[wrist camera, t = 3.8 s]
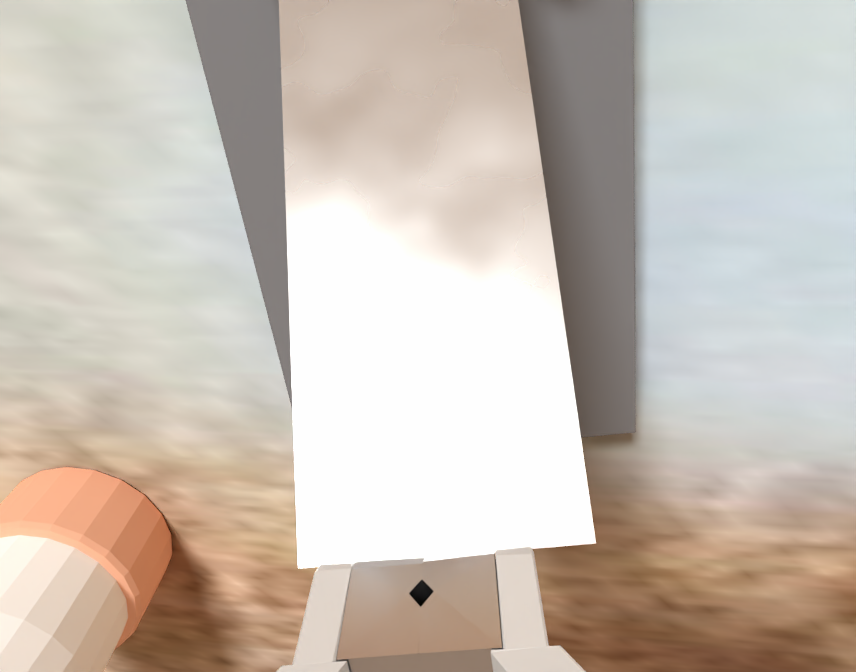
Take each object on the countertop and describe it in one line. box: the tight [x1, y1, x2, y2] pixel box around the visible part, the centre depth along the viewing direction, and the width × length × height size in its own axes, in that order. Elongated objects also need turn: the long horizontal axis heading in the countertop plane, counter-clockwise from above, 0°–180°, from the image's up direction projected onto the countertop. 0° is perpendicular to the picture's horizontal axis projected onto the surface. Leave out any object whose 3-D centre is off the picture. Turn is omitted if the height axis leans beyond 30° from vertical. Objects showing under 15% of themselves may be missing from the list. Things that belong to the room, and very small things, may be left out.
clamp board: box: [186, 0, 635, 437], centre depth 20 cm, size 12×20×5 cm, turn 8°
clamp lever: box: [279, 0, 596, 568], centre depth 14 cm, size 5×17×2 cm
